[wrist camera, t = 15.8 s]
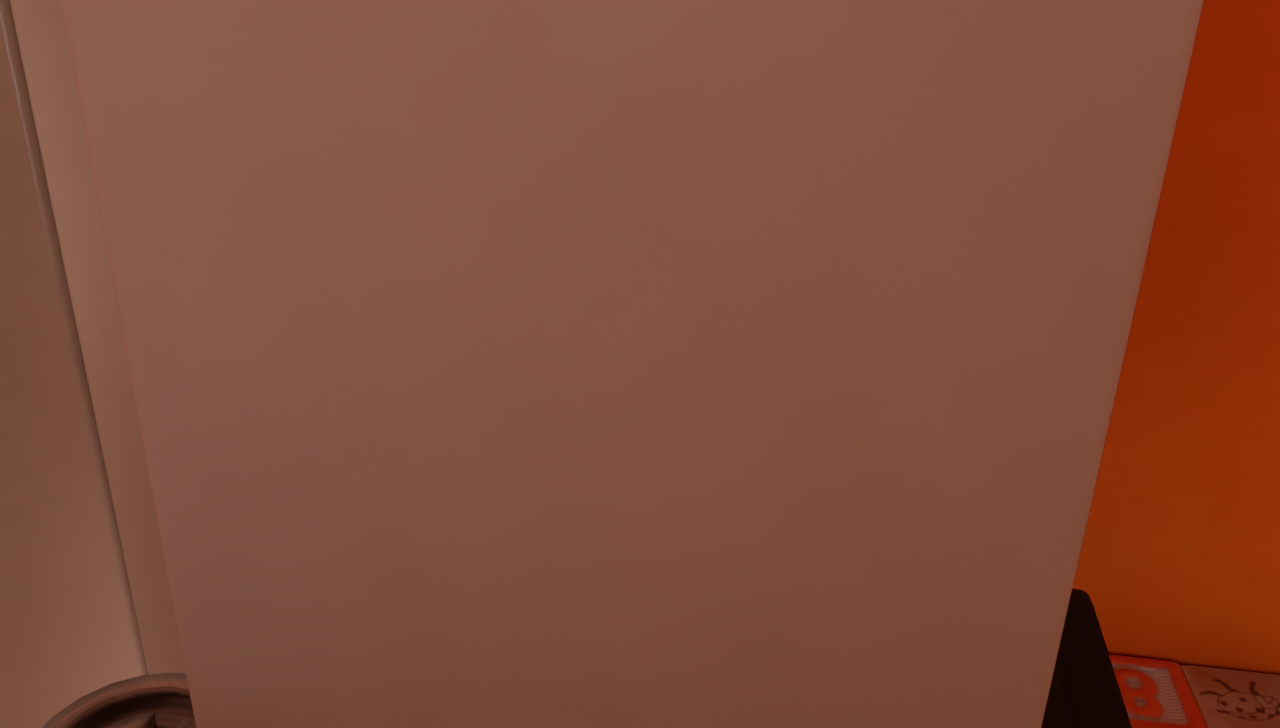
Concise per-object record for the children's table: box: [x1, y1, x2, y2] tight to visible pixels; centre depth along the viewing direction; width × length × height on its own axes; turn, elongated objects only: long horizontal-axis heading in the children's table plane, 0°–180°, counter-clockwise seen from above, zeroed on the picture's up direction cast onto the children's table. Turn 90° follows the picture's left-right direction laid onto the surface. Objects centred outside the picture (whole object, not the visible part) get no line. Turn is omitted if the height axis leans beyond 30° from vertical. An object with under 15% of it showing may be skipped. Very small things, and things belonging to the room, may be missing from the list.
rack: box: [0, 0, 186, 728], centre depth 20 cm, size 15×16×19 cm
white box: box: [60, 0, 1204, 728], centre depth 14 cm, size 14×4×18 cm, turn 179°
